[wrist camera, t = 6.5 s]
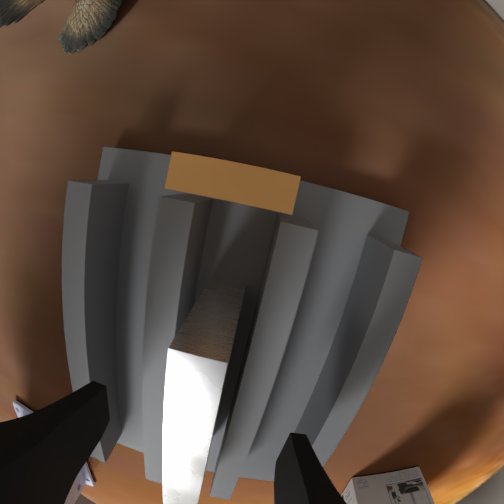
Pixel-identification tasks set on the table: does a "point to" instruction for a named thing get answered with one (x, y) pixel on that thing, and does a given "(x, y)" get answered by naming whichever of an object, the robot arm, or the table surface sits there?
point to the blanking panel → (197, 387)
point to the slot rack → (253, 305)
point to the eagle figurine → (69, 20)
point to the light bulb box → (389, 488)
